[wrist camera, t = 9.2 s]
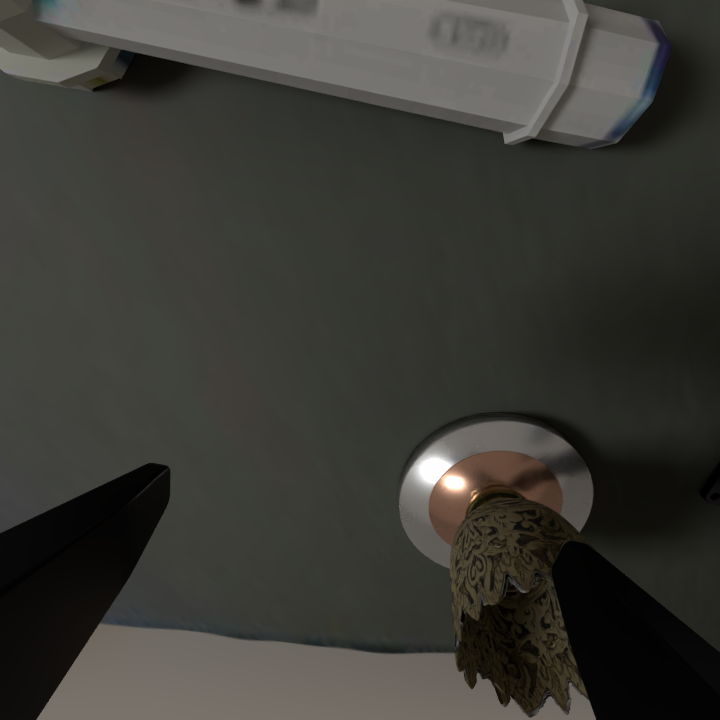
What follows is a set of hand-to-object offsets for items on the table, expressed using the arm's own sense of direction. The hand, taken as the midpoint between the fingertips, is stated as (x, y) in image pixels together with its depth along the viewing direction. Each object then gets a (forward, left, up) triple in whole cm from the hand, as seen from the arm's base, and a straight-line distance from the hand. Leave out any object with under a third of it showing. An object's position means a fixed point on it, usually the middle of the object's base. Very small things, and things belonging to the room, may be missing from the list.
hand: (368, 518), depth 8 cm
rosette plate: (-9, +8, -12) cm, 17 cm away
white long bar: (+6, -12, -13) cm, 18 cm away
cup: (-9, +8, -11) cm, 16 cm away
